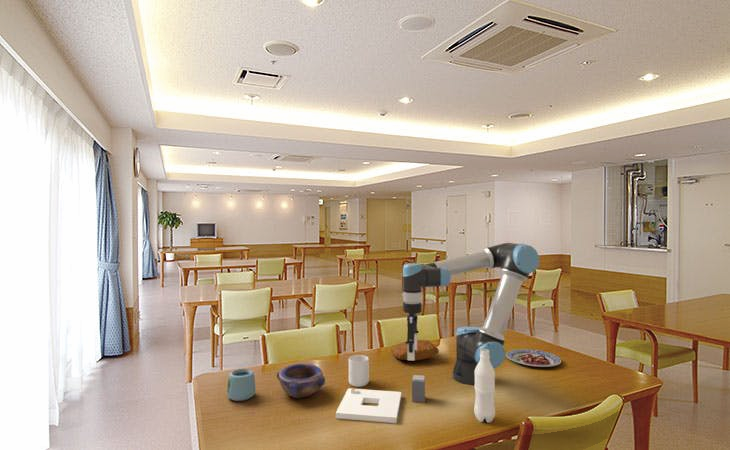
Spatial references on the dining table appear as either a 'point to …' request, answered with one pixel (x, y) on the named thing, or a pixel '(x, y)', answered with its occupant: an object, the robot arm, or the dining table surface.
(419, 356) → the bread loaf
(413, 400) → the plug
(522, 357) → the ceramic plate
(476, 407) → the water bottle
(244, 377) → the mug
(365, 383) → the mug
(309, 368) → the bowl
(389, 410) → the socket plate
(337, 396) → the dining table surface
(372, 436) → the dining table surface
